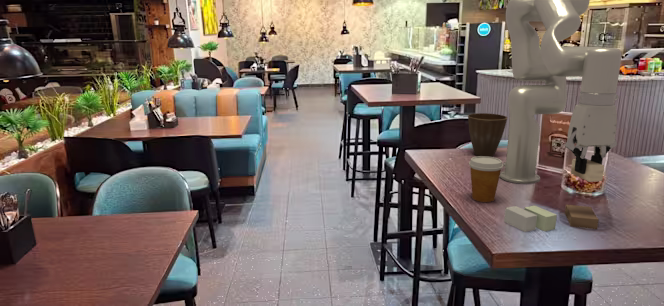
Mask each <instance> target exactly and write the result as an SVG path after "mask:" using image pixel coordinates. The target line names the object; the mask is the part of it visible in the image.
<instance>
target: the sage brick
mask: <svg viewBox="0 0 664 306" xmlns="http://www.w3.org/2000/svg"><path fill="white" fill-rule="evenodd" d="M524 210H526V211H528V212H531V213H533V214H535V215H537V221H536V229H539V230H540V231H543V232H548V231H554V230H556V224H557V218H558V217H557V215H558V214H556V213H554V212H551V211H549V210H547V209H544V208H541V207H540V206H537V205H530V206H526V207H524Z"/></svg>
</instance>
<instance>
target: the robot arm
mask: <svg viewBox="0 0 664 306" xmlns="http://www.w3.org/2000/svg"><path fill="white" fill-rule="evenodd" d="M589 6H590V0H509V1H508V3H507V5H506V9H505V23H506V27H507V30H508V31H507V32H508V34H509V38H510V45H511V46H510V48H511V50H510V51H511V69H512V70H511V71H512V76H513V78H514V80H517V81H520V82H544V84H523V85H518V86H515V87H513V88H512V89H511V90H510V91H509V93H508V99H507V100H508V101H507V102H508V111H509V112H508V113H509V121H508V134H507V147H506V148H507V149H506V158H505V161H504V162H502V164H503V167H504V170H503V171H501V172H500V176H499V178H501V179H502V180H504V181H505V182H509V183H514V184H518V185H519V184H521V185H529V184H536V183H539V182H541V177H540V175H538V174H537V173H536V171H537V163H538V162H537V161H538V153H539V145H540V144H539V143H540V134H541V126H540V124H539V122H538V121H537V119H536V118H535V115H536V116H537V115H554V114H559V113H562V112H563V110H564V109H565V108H566V106H567V100H568V99H567V97H568V96H567V95H568V93H567V78H568V77H572V78H573V77H578V78H579V77H580V78H581V85H580V93H579V100H578V104H575V106H574V108H573V111H572V114H571V118H570V122H569V125H568V126H569V127H568V130H567V131H568V132H567V140H566V142H565V144H564V147H565V148H566V149H568V151H571V152H572V154H573V156H574V157H575V159H576V161H575V171H576V172H578V173H581V174H585V171H586V164H587V158H586V156H587V152H588V148H589V147H593V154H591V157H590V160H591V161H593V162H596V163H599V164H602V165H603V159H604V158H605V157H606V155H607V153H609V152H610V151H611V150H612V149H614V148H615V147H616V146H618V142H617V140H616V135H617V127H618V126H617V125H618V123H617V121H618V113H617V111H618V110H617V106H616V105H615V104H616V103H615V102H616V101H617V100H619V94H617V89H618V83H619V77H620V76H619V75H620V69H621V63H622V62H621V61H622V51H621V49H619V48H615V47H601V46H562V45H561V44H560V42H562V41H563V40H565V39H568V38H569V37H572V36H573V35H574V34H575V33H576V32H577V31H578V30H579V28H580V27H581V24H582V23H581V22H582V21H581V16H582V15H583V14H585V13H586V11H587V9H588V8H589ZM530 22H542V24H543V26H544V28H545V32H544V33H543V35H542V38H541V39H540V36H539V33H538V32H537V30H536V29H535V28H534V27H533V25H531V24H530ZM540 40H541V41H540Z"/></svg>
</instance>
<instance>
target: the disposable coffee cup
mask: <svg viewBox="0 0 664 306" xmlns="http://www.w3.org/2000/svg"><path fill="white" fill-rule="evenodd" d="M468 165H469V167H470V181H471V183H470V185H471V197H472V199H473V200H475V201H477V202H481V203H491V201H492V202H494V201H495V198H496V194H497V189H498V185H499V180H500V173H501V172H502V169H503V167H504V166H503V160H501V159H500V158H497V157H494V156H492V157H487V156H473V157H471V158H470V160H469V162H468Z"/></svg>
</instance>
